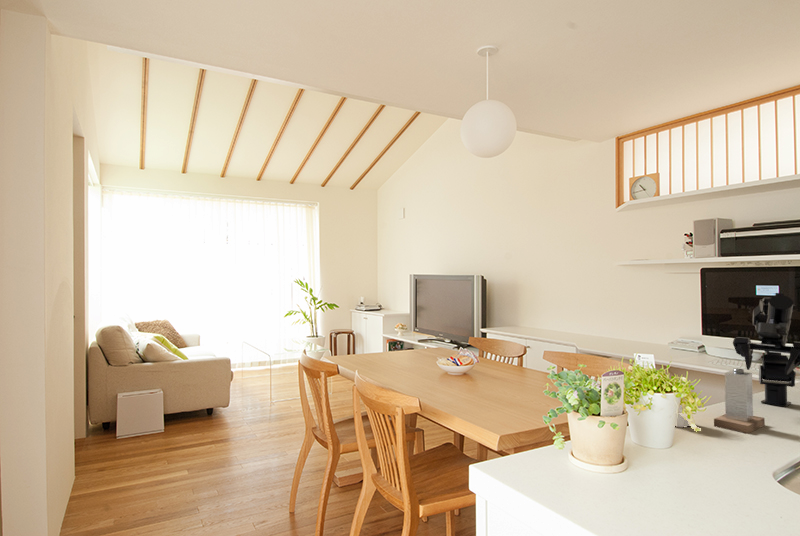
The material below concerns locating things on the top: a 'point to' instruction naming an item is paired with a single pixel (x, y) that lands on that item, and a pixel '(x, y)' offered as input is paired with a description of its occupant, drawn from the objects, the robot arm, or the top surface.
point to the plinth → (739, 424)
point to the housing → (738, 395)
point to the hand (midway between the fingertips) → (766, 371)
